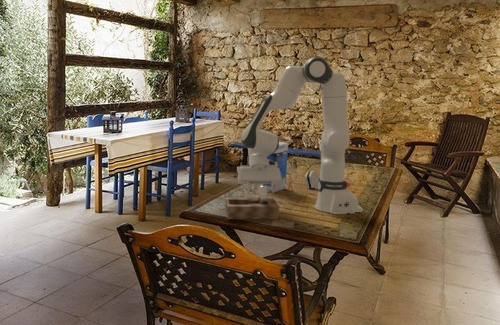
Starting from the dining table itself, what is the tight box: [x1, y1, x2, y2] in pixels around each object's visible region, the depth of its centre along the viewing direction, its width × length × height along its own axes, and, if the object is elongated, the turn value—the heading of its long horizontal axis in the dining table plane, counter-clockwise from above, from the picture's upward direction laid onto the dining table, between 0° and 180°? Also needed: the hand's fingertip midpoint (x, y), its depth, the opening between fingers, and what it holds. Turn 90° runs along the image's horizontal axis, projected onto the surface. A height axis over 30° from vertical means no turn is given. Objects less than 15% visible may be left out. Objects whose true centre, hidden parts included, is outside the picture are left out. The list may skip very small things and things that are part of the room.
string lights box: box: [262, 141, 289, 194], centre depth 234 cm, size 13×8×26 cm, turn 146°
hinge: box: [304, 170, 320, 190], centre depth 248 cm, size 17×5×10 cm, turn 156°
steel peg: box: [258, 184, 268, 204], centre depth 189 cm, size 6×6×12 cm
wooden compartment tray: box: [224, 197, 280, 220], centre depth 189 cm, size 22×14×6 cm, turn 97°
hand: (260, 191), depth 194 cm, fingers open, 8 cm apart
